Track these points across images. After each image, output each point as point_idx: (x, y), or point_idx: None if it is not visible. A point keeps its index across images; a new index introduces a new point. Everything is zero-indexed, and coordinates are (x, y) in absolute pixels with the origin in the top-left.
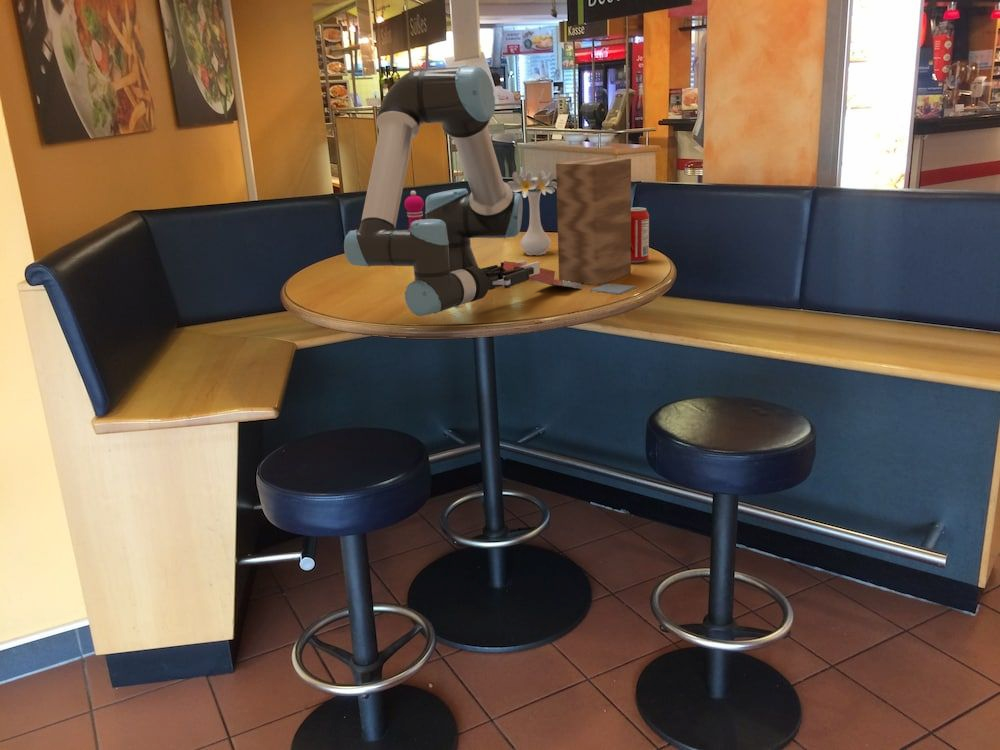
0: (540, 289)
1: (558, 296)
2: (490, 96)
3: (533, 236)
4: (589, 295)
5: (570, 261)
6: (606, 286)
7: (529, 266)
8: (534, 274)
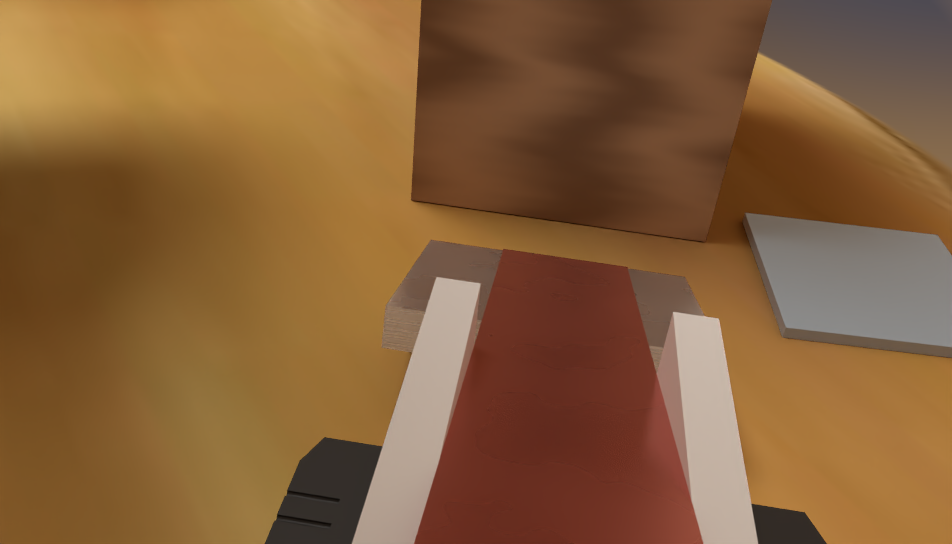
0: (403, 366)
1: None
2: None
3: None
4: (873, 421)
5: (519, 86)
6: (806, 261)
7: (742, 512)
8: None
